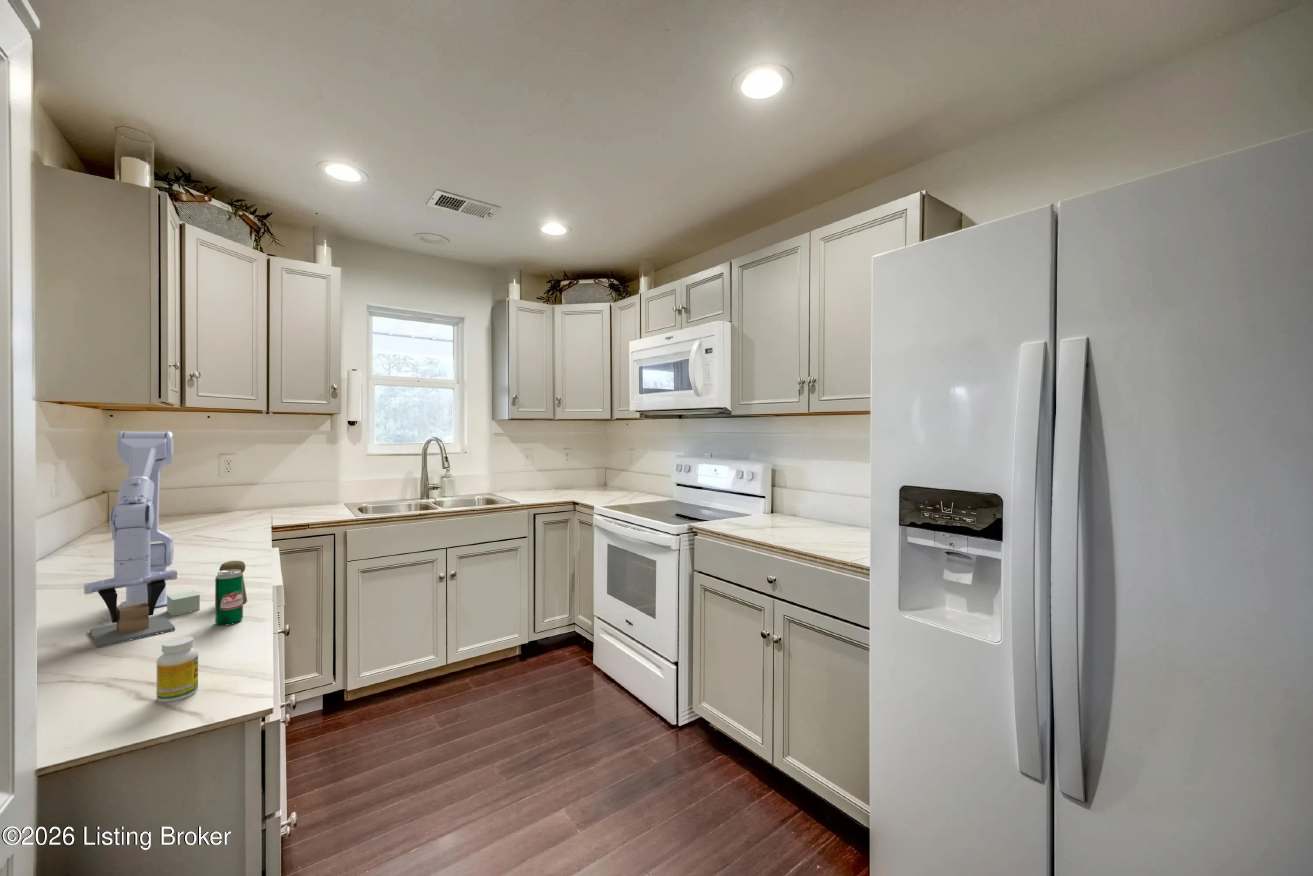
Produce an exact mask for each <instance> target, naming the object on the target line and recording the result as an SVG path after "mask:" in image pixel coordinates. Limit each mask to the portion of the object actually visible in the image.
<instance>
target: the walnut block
mask: <svg viewBox="0 0 1313 876" xmlns="http://www.w3.org/2000/svg"><path fill="white" fill-rule="evenodd" d="M117 616H118V622H116V624H117V630H118V632H119V633H120V634H124V633H129V632H133V631H138V630H143V629H147V628H149V617H150V616H149V606H148V605H147V604H146V602H139V603H134V604H129V605H123V606H122V605H118V606H117Z"/></svg>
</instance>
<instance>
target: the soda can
mask: <svg viewBox="0 0 1313 876" xmlns="http://www.w3.org/2000/svg"><path fill="white" fill-rule="evenodd" d="M243 578H244V574H242V573H241V570H239V569H231V570H224V571H221V572H220V571H218V572H217V575H216V576H215V579H214V581H215V583H214V586H215V588H214V592H215V593H214V596H215V597H214V598H215V599H214V601H215V602H214V605H215V607H214V610H215V611H214V612H215V613H214V615H215V616H214V618H215V619H214V622H215V624H217V625H218V626H230V625H229V624H231V625H233V624H232V623H235V624H237V623H239V622H240V621H242V620H243V618H244V604H243ZM236 622H237V623H236ZM227 624H228V625H227Z"/></svg>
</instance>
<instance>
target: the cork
mask: <svg viewBox="0 0 1313 876" xmlns="http://www.w3.org/2000/svg"><path fill="white" fill-rule="evenodd" d="M231 569H239V570H241V573H242V574H243V573H244V572H245V570H246V564H245V562H244V561H242V560H230V561H226V562H223V563H222V564H221V565H220V567H219V571H218V572H221V571H224V570H231ZM243 575H244V574H243ZM246 602H247V603H248V597H247V592H246V584H245V578H244V577H243V605H245V604H247V603H246Z"/></svg>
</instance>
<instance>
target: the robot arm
mask: <svg viewBox="0 0 1313 876" xmlns="http://www.w3.org/2000/svg"><path fill="white" fill-rule="evenodd" d="M174 442H175V441H174V433H172V432H171V431H169V430H168V431H126V430H121V431H120V432H118V433H117V435H116V452H117V454H118V457H119V458H120V461H122V464H123V465H125V466H128V469H127V470H128V477H127V478H125V479H124V480H122V481H121V482H120V483H119V487H118V488H119V489H118V493H117V498H116V505H115V507H113V506H112V507H111V509H110V512H109V526H110V531H111V539H112V540H113V577H111V578H106V579H102V580H98V581H92V582H91V581H90V582H86V583H83V593H84V595H90V594H93V593H98V595H99V596H100V597H101V599H102V600H103V602H104V603H105V606H106V607H107V609H108V612H109V615H110V619H111V623H113V624H117V622H118V616H117V607H118V606H117V605H118V593H117V590H116V589H124V588H125V591H126V592H125V600H123V601H120V606H123V605H129V604H134V603H139V602H146V604H147V605H148V606H149V617H152V616H154V612H155V608H157V607H163V606H167V581H169V580H170V581H173V580H174V581H175V580H177V579H178V570H176V569H170V570H167V567H171V565H173V564H174V556H175V555H174V544H173V543H174V542H173V541H174V540H173V537H172V536H171V535H170V534H169V533H166V532H163V530H160V529H159V523H160V485H161V483H160V482H161V480H160V479H161V477H160V476H161V473H162V470H163V467H165V466H168V465H169V464H172V461H173V459H174V446H175V445H174V444H175V443H174ZM152 542H154V543H152ZM156 542H157V543H156Z"/></svg>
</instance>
